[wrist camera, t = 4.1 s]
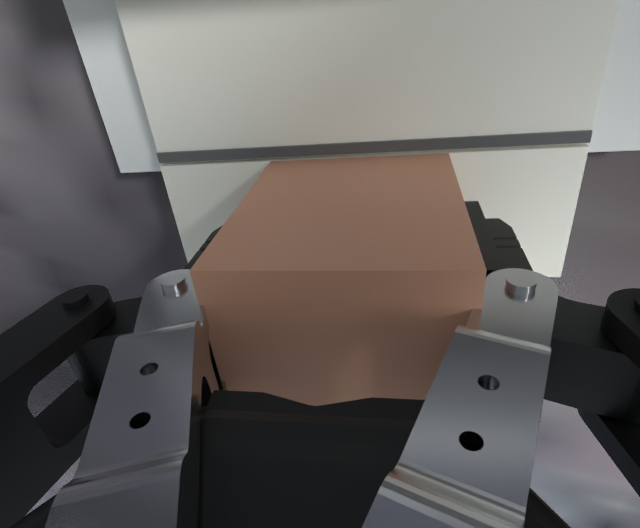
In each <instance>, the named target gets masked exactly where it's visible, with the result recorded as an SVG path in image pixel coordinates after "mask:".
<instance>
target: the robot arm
mask: <svg viewBox="0 0 640 528" xmlns="http://www.w3.org/2000/svg"><path fill="white" fill-rule="evenodd" d="M464 202H465V205H466V208H467V211H468V214H469V217H470V220H471V224H472V227H473V230H474V233H475V236H476V239H477V242H478V245H479V248H480V251H481V254H482V258H483V261H484V264H485V267H486V270H487V272H486V281H485V289H484V298H483V306H482V309H473V310H472V312H471V315H470V317H469V319H468V322H467V324H466V326H462V325H458V327H457V328H456V330H455V332H454V334H453V337H452V339H451V341H450V344H449V346H448V348H447V351H446V353H445V355H444V358H443V360H442V362H441V364H440V367H439V369H438V371H437V374H436V376H435V378H434V381H433V383H432V385H431V388H430V390H429V392H428V395H427V397H426V399H425V400H416V399H395V398H374V397H371V398H365V399H358V400H352V401H345V402H339V403H333V404H326V405H320V406H312V405H307V404H304V403H300V402H296V401H293V400H289V399H286V398H282V397H279V396H275V395H271V394H268V393H264V392H248V391H228V390H227V386H226V383H225V381H221V379H220V376H219V372H218V369H217V365H216V362H215V359H214V355H213V352H212V348H211V345H210V341H209V322H208V319H207V315H206V312H205V308H204V305H199V303H198V300H197V296H196V293H195V289H194V286H193V282H192V279H191V275H190V272H189V270H190V269H191V268H192V266H193V265H194V264H195V262H196V261H197V260H198V258H199V257H200V256H201V254H202V253H203V252H204V250H205V249H206V248H207V246H208V245H209V244H210V242H211V241H212V240H213V238H214V237H215V236H216V234H217V233H218V231H219V230H220V229H221V227H222V226H223V225H222V226H221V227H219V228H218V229H216V230H214V231H213V232H212V233H211V234H210V235H209V237H208V238H207V239H206V241H205V243H203V245H202V246H201V247H200V248H199V251H197V252H196V254H195V255H194V256H193V258H192V259H191V260H190V262H189V263H188V264H187V265H186V267H185V268H184V269H180V270H174V271H170V272H167V273H164V274H162V275H160V276H158V277H156V278H154V279H153V280H152V281H150V282H149V283H148V284H147V285H146V287H145V288H144V291H143V295H142V297H139V298H134V299H128V300H123V301H118V302H113V300H112V298H111V296H110V293H109V291H108V289H107V288H106V287H104V286H100V285H88V286H82V287H78V288H75V289H72V290H69V291H67V292H64V293H62V294H61V295H59V296H57V297H56V298H54V299H53V300H51V301H50V302H48V303H47V304H45V305H44V306H42V307H41V308H39V309H38V310H36V311H35V312H33V313H32V314H30V315H29V316H27V317H26V318H24V319H23V320H21V321H20V322H18V323H17V324H16V325H14V326H13V327H11V328H10V329H8V330H7V331H5V332H4V333H2V334H1V335H0V528H571V527H570V526H569V525H568V524H567V523H566V522H564V521H563V520H562V519H561V518H560V517H559V516H558V515H557V514H556V513H555V512H554V511H553V510H552V509H551V508H550V507H549V506H548V505H547V504H546V503H545V502H544V501H543V500H542V499H541V498H540V497H539V496H538V495H537V494H536V493H535V492H534V491H533V490H532V489H531V488H530V481H531V475H532V469H533V462H534V456H535V450H536V443H537V437H538V431H539V424H540V418H541V412H542V406H543V399H546V400H549V401H553V402H556V403H560V404H563V405H567V406H571V407H574V408H577V409H578V412H579V415H580V416H581V418H582V419H583V421H584V422H585V424H586V425H587V426H588V428H589V429H590V430H591V432H592V433H593V434H594V436H595V437H596V438H597V440H598V441H599V442H600V444H601V445H602V447H603V448H604V449H605V451H606V452H607V453H608V455H609V456H610V457H611V459H612V460H613V461H614V463H615V464H616V465H617V467H618V468H619V470H620V471H621V472H622V474H623V475H624V476H625V478H626V479H627V480H628V482H629V483H630V484H631V486H632V487H633V489H634V490H635V491H636V493H637V494H638V495H639V497H640V289H637V288H631V289H623V290H619V291H616V292H614V293H612V294H611V295H610V296H609V297H608V300H607V303H606V306H605V307H602V306H597V305H591V304H586V303H581V302H576V301H572V300H568V299H565V298H562V297H560V296H558V294H559V290H558V287H557V285H556V284H555V283H554V282H553V281H552V280H551V279H549V278H548V277H546V276H544V275H543V274H540V273H538V272H534V271H533V269H532V267H531V265H530V263H529V261H528V259H527V257H526V255H525V253H524V251H523V249H522V248H521V245H520V243H519V241H518V239H517V237H516V235H515V233H514V231H513V229H512V227H511V226H510V225H508V224H507V223H505V222H504V221H502V220H501V219H499V218H487V219H485V217H484V214H483V212H482V209H481V206H480V204H479V202H478V201H464ZM66 359H68V361H69V363H70V365H71V367H72V369H73V371H74V373H75V375H76V377H77V379H78V380H77V381H76V382H75V383H74V384H72V385H71V386H70V387H69V388H68V389H67V390H66V391H65V392H63V393H62V394H61V395H60V396H59V397H58V398H57V399H56V400H54V401H53V402H52V403H51V404H50V405H49V406H48V407H47V408H46V409H44V410H43V411H42V412H41V413H40V414H39V415H38V416H37V417H35V418H34V417H33V415H32V414H31V412H30V410H29V409H28V405H27V401H28V396H29V394H30V391H31V390H32V388H33V387H34V386H35V385H36V384H37V383H38V382H39V381H40V380H42V379H43V378H44V377H45V376H46V375H48V374H49V373H50V372H51V371H53V370H54V369H55V368H56V367H57V366H59V365H60V364H61V363H62V362H63V361H65V360H66ZM80 456H81V457H80ZM79 457H80V461H79V464H78V468H77V471H76V474H75V476H74V478H73V479H72V480H71V481H70V482H69V483H67V484H66V485H64V486H63V487H62V488H61V489H60V490H59V492H58V493H57V494H56V495H55V496H53V497H52V498H50V499H49V500H48V501H46V502H45V503H43V504H42V505H40V506H39V507H38V508H36V509H35V510H33V511H32V512H30V513H29V514H27V513H28V512H29V510H30V509H31V508H32V507H33V506H34V505H35V504H36V503H37V502H38V501H39V500H40V499H41V498H42V497H43V496H44V494H45V493H46V492H47V491H48V490H49V489H50V488H51V487H52V486H53V485H54V484H55V483H56V482H57V481H58V480H59V478H60V477H61V476H62V475H63V474H64V473H65V472H66V471H67V470H68V469H69V468H70V467H71V466H72V465H73V463H74V462H75V461H76V460H77V459H78V458H79ZM26 514H27V515H26ZM25 515H26V516H25ZM24 516H25V517H24Z"/></svg>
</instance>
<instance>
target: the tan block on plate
mask: <svg viewBox="0 0 640 528" xmlns="http://www.w3.org/2000/svg"><path fill="white" fill-rule="evenodd" d="M588 150H589V146H588V145H587V144H567V145H546V146H525V147H504V148H483V149H461V150H440V151H419V152H398V153H377V154H355V155H334V156H313V157H292V158H271V159H250V160H228V161H207V162H186V163H165V164H162V165H161V166H160V168H161V172H162V175H163V179H164V182H165V186H166V189H167V193H168V196H169V200H170V203H171V207H172V210H173V214H174V217H175V220H176V224H177V227H178V231H179V234H180V238H181V241H182V245H183V248H184V252H185V255H186V259H187V262H188V263H189V262H190V260H191V259H192V258H193V256H194V255H195V254H196V252H197V251H199V248H200V247H201V246H202V245H203V243H205V241H206V239H207V238H208V237H209V235H210V234H211V233H212V232H213V231H214V230H216V229H218V228H219V227H221V226H222V225H223V226H222V227H221V229H220V230H219V231H218V233H217V234H216V236H215V237H214V238H213V240H212V241H211V242H210V244H209V245H208V246H207V248H206V249H205V250H204V252H203V253H202V254H201V256H200V257H199V258H198V260H197V261H196V262H195V264H194V265H193V266H192V268H191V269H190V270H189V272H190V275H191V279H192V282H193V286H194V289H195V293H196V296H197V300H198V303H199V305H204V308H205V312H206V315H207V319H208V322H209V341H210V345H211V348H212V352H213V355H214V359H215V362H216V365H217V369H218V372H219V376H220V379H221V381H225V383H226V386H227V390H228V391H248V392H264V393H268V394H271V395H275V396H279V397H282V398H286V399H289V400H293V401H296V402H300V403H304V404H307V405H312V406H320V405H326V404H333V403H339V402H345V401H352V400H358V399H365V398H371V397H374V398H395V399H416V400H425V399H426V397H427V395H428V392H429V390H430V388H431V385H432V383H433V381H434V378H435V376H436V374H437V371H438V369H439V367H440V364H441V362H442V360H443V358H444V355H445V353H446V351H447V348H448V346H449V344H450V341H451V339H452V337H453V334H454V332H455V330H456V328H457V327H458V325H462V326H466V324H467V322H468V319H469V317H470V315H471V312H472V310H473V309H482V306H483V298H484V289H485V281H486V272H487V270H486V267H485V264H484V261H483V258H482V254H481V251H480V248H479V245H478V242H477V239H476V236H475V233H474V230H473V227H472V224H471V220H470V217H469V214H468V211H467V208H466V205H465V202H464V201H478V202H479V204H480V206H481V209H482V212H483V214H484V217H485V219H487V218H499V219H501V220H502V221H504V222H505V223H507V224H508V225H510V226H511V227H512V229H513V231H514V233H515V235H516V237H517V239H518V241H519V243H520V245H521V248H522V249H523V251H524V253H525V255H526V257H527V259H528V261H529V263H530V265H531V267H532V269H533V271H534V272H538V273H540V274H543V275H544V276H546V277H561V273H562V268H563V264H564V259H565V255H566V250H567V246H568V241H569V237H570V232H571V228H572V223H573V218H574V214H575V209H576V205H577V200H578V196H579V191H580V187H581V182H582V178H583V173H584V168H585V164H586V159H587V155H588Z"/></svg>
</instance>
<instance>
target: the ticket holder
mask: <svg viewBox="0 0 640 528" xmlns="http://www.w3.org/2000/svg"><path fill="white" fill-rule="evenodd" d="M63 3H64V6H65V9H66V12H67V15H68V18H69V21H70V24H71V27H72V30H73V33H74V36H75V39H76V42H77V45H78V48H79V50H80V53H81V56H82V59H83V62H84V65H85V68H86V71H87V74H88V77H89V80H90V83H91V86H92V89H93V92H94V95H95V98H96V101H97V104H98V107H99V110H100V113H101V116H102V119H103V122H104V125H105V128H106V131H107V134H108V137H109V139H110V142H111V145H112V148H113V151H114V154H115V157H116V160H117V163H118V166H119V169H120V172H121V173H131V172H154V171H161V168H160V166H161V165H162V164H165V163H186V162H207V161H228V160H250V159H271V158H292V157H313V156H334V155H355V154H377V153H398V152H419V151H440V150H461V149H483V148H504V147H525V146H546V145H567V144H587V145H588V146H589V150H588V152H609V151H631V150H640V0H63Z"/></svg>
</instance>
